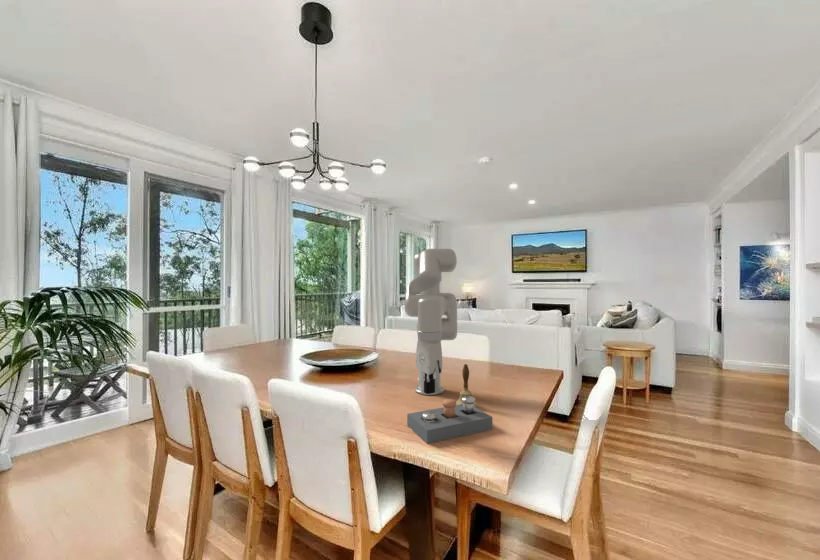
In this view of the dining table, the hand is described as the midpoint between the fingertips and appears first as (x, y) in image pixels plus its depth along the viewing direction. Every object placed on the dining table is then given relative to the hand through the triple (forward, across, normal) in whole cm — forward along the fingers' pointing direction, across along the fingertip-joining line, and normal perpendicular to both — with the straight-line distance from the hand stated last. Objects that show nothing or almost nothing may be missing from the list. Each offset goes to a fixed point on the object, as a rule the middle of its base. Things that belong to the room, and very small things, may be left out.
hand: (429, 392), depth 114 cm
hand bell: (+13, -13, +23) cm, 29 cm away
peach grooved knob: (+9, +1, +7) cm, 11 cm away
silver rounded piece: (+9, +1, +14) cm, 17 cm away
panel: (+12, +1, +7) cm, 14 cm away
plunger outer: (+12, +1, -1) cm, 12 cm away
